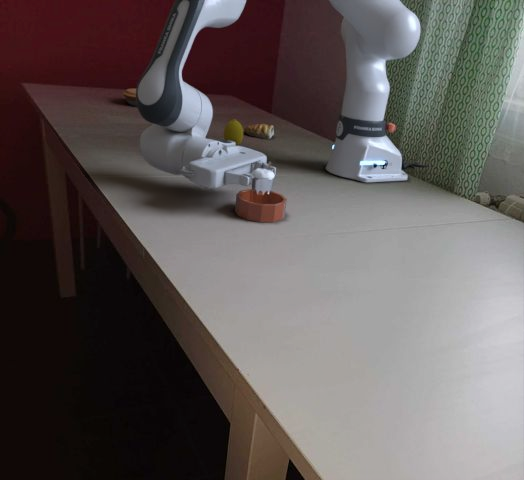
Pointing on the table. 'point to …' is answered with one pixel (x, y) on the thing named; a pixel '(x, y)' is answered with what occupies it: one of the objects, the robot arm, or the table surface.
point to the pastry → (260, 130)
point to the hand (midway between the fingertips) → (262, 176)
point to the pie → (131, 96)
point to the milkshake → (262, 185)
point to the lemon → (233, 132)
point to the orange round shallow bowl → (260, 207)
